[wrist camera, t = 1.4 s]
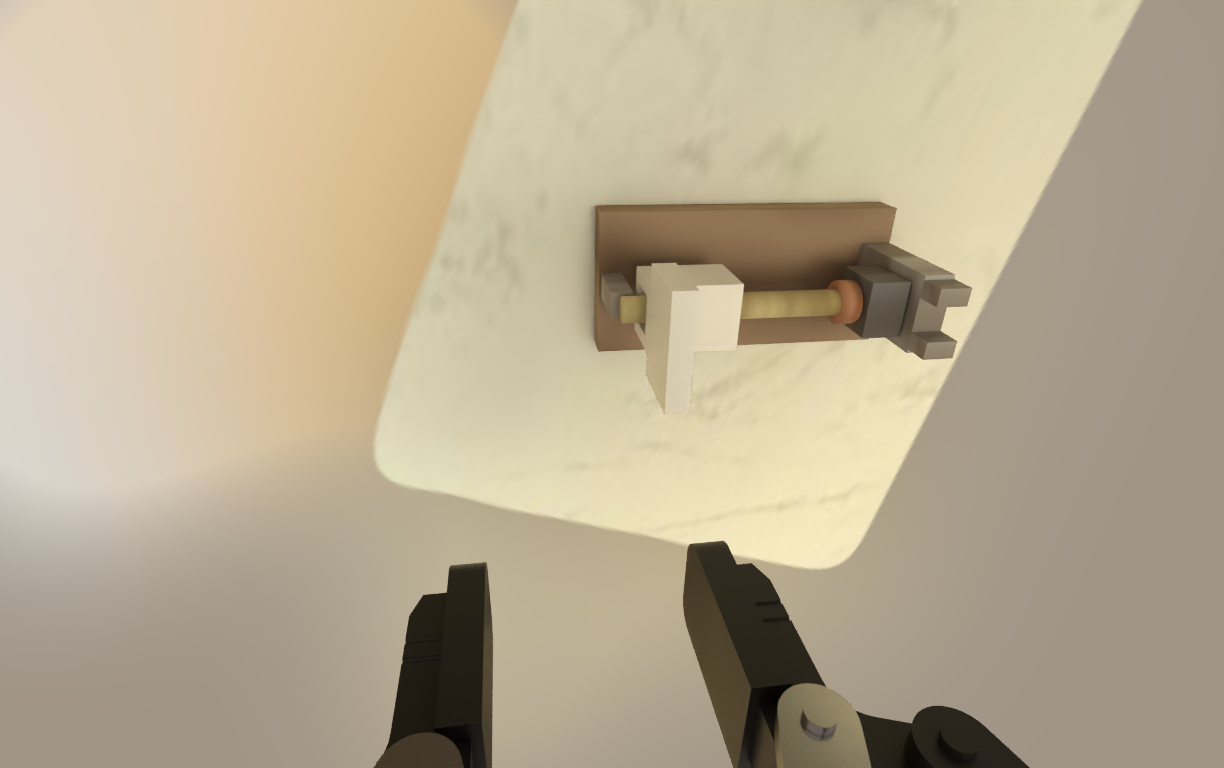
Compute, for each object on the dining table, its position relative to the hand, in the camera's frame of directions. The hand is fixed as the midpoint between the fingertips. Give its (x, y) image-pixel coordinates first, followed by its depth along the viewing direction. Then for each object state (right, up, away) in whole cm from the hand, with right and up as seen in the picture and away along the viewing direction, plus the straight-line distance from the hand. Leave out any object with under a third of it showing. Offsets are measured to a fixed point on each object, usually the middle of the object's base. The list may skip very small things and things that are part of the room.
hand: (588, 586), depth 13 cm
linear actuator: (+7, +10, +20) cm, 24 cm away
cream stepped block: (+4, +8, +17) cm, 19 cm away
